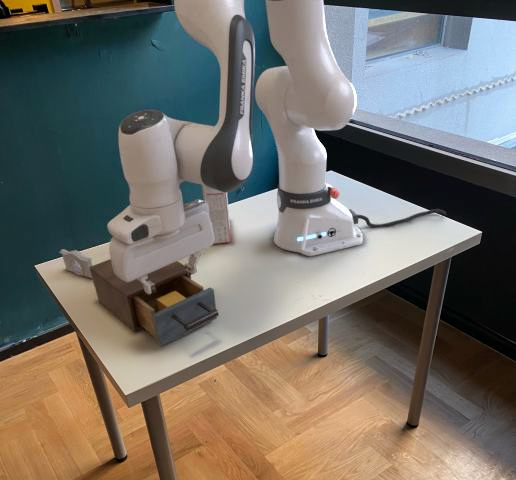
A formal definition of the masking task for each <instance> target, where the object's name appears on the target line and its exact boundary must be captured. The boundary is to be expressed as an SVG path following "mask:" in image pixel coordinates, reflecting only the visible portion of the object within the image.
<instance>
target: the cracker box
mask: <svg viewBox="0 0 516 480" xmlns="http://www.w3.org/2000/svg"><path fill="white" fill-rule="evenodd" d="M201 187H202V196H203V201H205V202H206V203H207V204H208V206H209V217H210V220H211V223H212V227H213V232H214V237H215V240H214V243H213V245H216V244H217V245H218V244H228V243H232V236H231V222H230V211H229V199H228V193H224V192H221V191H218V190H216V189H213V188H210V187H207V186H206V185H201Z"/></svg>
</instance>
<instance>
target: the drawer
mask: <svg viewBox="0 0 516 480" xmlns="http://www.w3.org/2000/svg"><path fill="white" fill-rule="evenodd" d="M155 289H156V291H155V292H153V293H151V294H147V293H146V292H143V293H141V294H138V295H136V296H134V297H131V299H132V304H133V308H134V313H135V317H136V322H137V323H139V324H140V325H141V326H142V327H143V329H145V330H146V331H147V332H148V333H150V334H151V335H152V336H153V337H154V338H156V339H155V340H156V343H157V345H158V346H159V347H163V346H165V345H167V344H169V343H171V342H173V341H175V340H177V339H179V338H180V337H183V336H185V335H186V334H190V333H191V332H193V331H195V330H196V329H198V328H200V327H202V326H204V325H207V324H208V323H210V322H212V321H214V320H216V319H217V318H218V317H219V315H220V314H219V311H218V309H217V306H216V298H215V289H214V288H212V287H207V288H206V289H204V286H203V285H201V284H199V283H198V282H197V281H195V280H193V279H192V278H191V279H190V278H188V277H187V276H185V275H182V276H180V277H177V278H175V279H173V280H170V281H168V282H166V283H164V284H161V285H159V286H157V287H155ZM173 291H176V292H178V293H179V294H181V295H182V296H184V297H185V298H186V299H184V300H182V301H180V302H178V303H175V304H173V305H171V306H169V307H167V308H165V309H162V310H160V311H159V309H158V304H157V299H158V298H160V297H162V296H164V295H167V294H169V293H171V292H173Z"/></svg>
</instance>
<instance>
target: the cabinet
mask: <svg viewBox="0 0 516 480" xmlns="http://www.w3.org/2000/svg"><path fill="white" fill-rule="evenodd" d="M89 268H90V272H91V275H92V278H91V279H92V282H93V286H94V289H95V293H96V297H97V301H98V302H99V303H100V304H101V305H102V306H103V307H104V308H105V309H107V310H108V311H109V312H110V313H112V314H113V315H114V316H115V317H116V318H118V319H119V320H120V322H122V323H124V324H125V325H126V326H127V327H129V329H130V330H132V331H133V332H135V333H136V332H139V331H140V330H143V329H144V328H143V327H142V326H141V325H140V324H139V323H137V322H136V317H135V313H134V308H133V304H132V299H131V297H134V296H136V295H138V294H141V293H143V292H145V290H144V286H143V284H142V283H141V282H140V281H139V280H138V279H135V280H133V281H131V282H125V281H123V280H121V279H120V278H119V277H117V276H116V275H115V273H114V271H113V267H112V263H111V258H109V259H107V260H103V261H102V262H99V263H96V264H94V265H92V266H91V267H89ZM182 275H185V276H187V277H188V278H190V279H191V280H192V275H189V274H188V273H187V272H186V268H185V264H183V263H181V262H179V260H178V261H176V262H174V263H172V264H169V265H167V266H165V267H162V268H160V269H158V270H156V271H153V272H151V273H149V274H147V277H148V279H145V280H146V281H151V282H152V283H154V284H155V287H157V286H159V285H161V284H164V283H166V282H168V281H170V280H173V279H175V278H177V277H180V276H182Z"/></svg>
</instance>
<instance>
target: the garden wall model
mask: <svg viewBox="0 0 516 480" xmlns="http://www.w3.org/2000/svg"><path fill="white" fill-rule="evenodd" d="M59 254H61V256H62V259H63V262H64V266H65V269H66V271H68V272H71V273H74V274H75V275H76V276H83V277H86V278H89V279H92V275H91V272H90V268H89V267H91V266H93V263H92V260H93V258H92V257H87V256H85V255H84V254H83V253H82V252H81V251H79V250H77V249H75V250H70V251H69V250H67V249H60V251H59Z"/></svg>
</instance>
